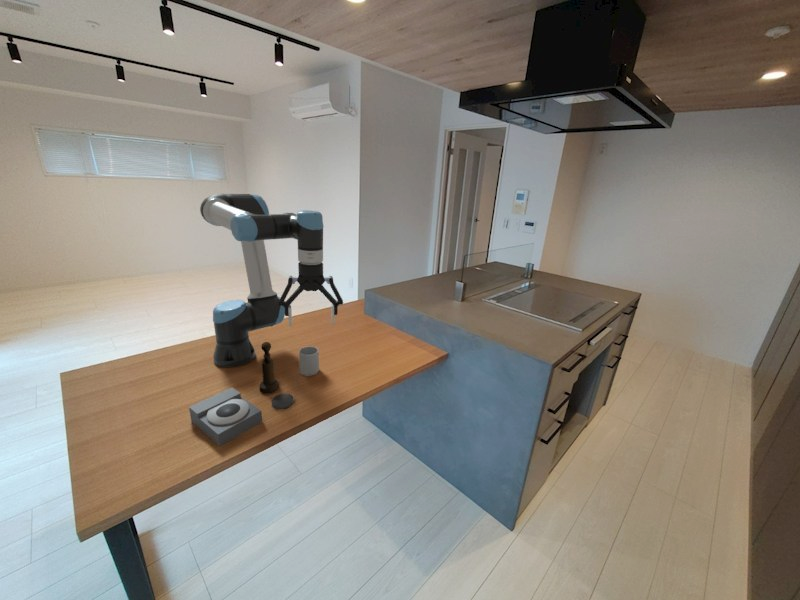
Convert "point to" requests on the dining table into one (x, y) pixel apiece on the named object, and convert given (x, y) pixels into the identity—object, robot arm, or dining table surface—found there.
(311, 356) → the cup
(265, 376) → the brown wooden pepper mill
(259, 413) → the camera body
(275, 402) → the dark grey dome
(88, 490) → the dining table surface
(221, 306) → the robot arm
